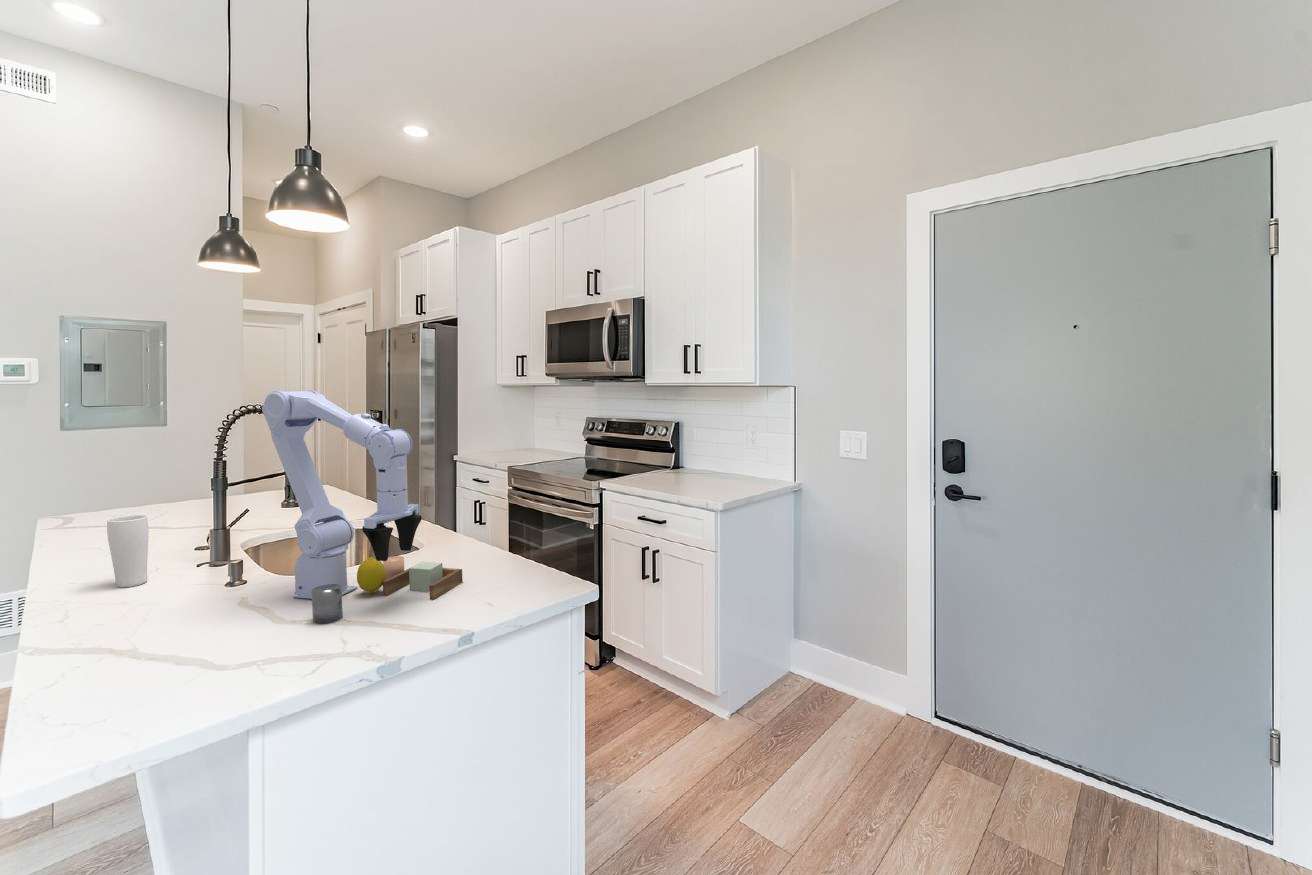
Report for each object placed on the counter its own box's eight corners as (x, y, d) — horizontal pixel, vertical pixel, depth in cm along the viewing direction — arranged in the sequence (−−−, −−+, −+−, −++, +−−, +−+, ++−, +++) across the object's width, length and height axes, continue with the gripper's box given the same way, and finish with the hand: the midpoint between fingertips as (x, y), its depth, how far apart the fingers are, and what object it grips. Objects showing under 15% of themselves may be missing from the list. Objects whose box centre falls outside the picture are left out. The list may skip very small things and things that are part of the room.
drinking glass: (104, 586, 131) (99, 519, 129) (140, 577, 137) (136, 513, 136) (122, 591, 128) (117, 522, 127) (158, 581, 134) (154, 516, 133)
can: (306, 623, 112) (305, 591, 111) (326, 613, 116) (324, 583, 116) (329, 625, 111) (328, 593, 110) (348, 615, 115) (347, 585, 115)
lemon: (374, 599, 124) (373, 561, 123) (351, 597, 125) (350, 559, 125) (391, 590, 129) (390, 554, 129) (369, 588, 131) (367, 552, 130)
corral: (382, 595, 126) (382, 581, 126) (415, 578, 137) (414, 565, 137) (434, 599, 124) (433, 585, 124) (462, 581, 135) (462, 569, 135)
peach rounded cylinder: (379, 582, 135) (378, 561, 134) (391, 576, 139) (391, 555, 138) (396, 583, 134) (396, 562, 133) (408, 577, 138) (408, 556, 138)
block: (409, 590, 130) (408, 568, 129) (422, 583, 135) (422, 561, 134) (430, 592, 129) (429, 569, 128) (442, 584, 134) (442, 562, 133)
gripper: (386, 497, 112) (388, 567, 114) (430, 484, 127) (432, 547, 128) (353, 495, 114) (356, 564, 115) (401, 483, 128) (403, 545, 129)
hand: (394, 555), depth 122 cm, fingers open, 7 cm apart
